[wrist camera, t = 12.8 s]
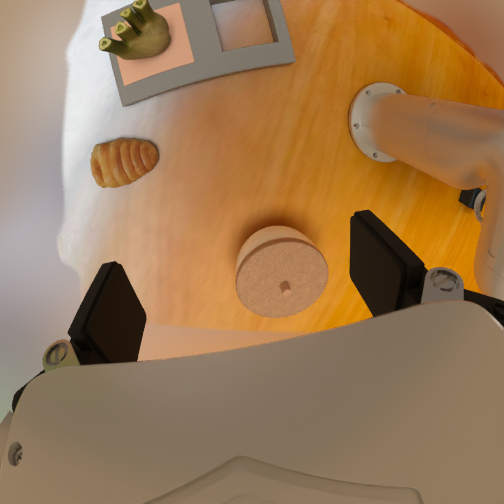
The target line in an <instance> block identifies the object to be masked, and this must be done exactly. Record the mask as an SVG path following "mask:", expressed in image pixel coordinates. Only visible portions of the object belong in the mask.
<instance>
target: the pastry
mask: <svg viewBox="0 0 504 504" xmlns="http://www.w3.org/2000/svg"><path fill="white" fill-rule="evenodd" d="M91 156H92V157H91V170H92V175H93V177H94V178H95V181H96V183H97V184H98V185H99V186H101V187H102V188H106V187H111V188H117V187H120V186H123V185H127V184H130V183H132V182H134V181H136V180H137V179H138V178H140V177H142V176H143V175H145V174H146V173H148V172H149V171H151V170H152V169H153V167H154V166H155V165H156V163H157V162H158V160H159V157H158V152H157V150H156V148H155V147H154V146H153V145H152V144H151V143H150V142H149V141H144V140H137V139H123V138H118V139H116V140H115V141H110V142H108V143H103V144H97V145H95V147H94V148H93V152H92V155H91Z"/></svg>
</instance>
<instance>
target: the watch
mask: <svg viewBox="0 0 504 504" xmlns="http://www.w3.org/2000/svg"><path fill="white" fill-rule="evenodd" d="M486 191H487V189H483V190H481V189H480V188H474V189H470V190H462V192H461V195H460V198H459V200H458V201H460V202H461V203H463V204H464V205H466V206H467V207H469V208H472V209H474V213H475V217H476V219H477V220H478V222H480V223H481V226H482V222H483V218H482V217H481V213H480V212H481V211H482V208H483V205H484V203H485V200H486Z"/></svg>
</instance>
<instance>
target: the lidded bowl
mask: <svg viewBox="0 0 504 504" xmlns="http://www.w3.org/2000/svg"><path fill="white" fill-rule="evenodd" d="M327 281H328V266H327V263H326V261H325V258H324V257H323V255H322V254H321V252H320V251H319V250H318V249H317V248H316V246H315V245H314V244H313V242H312V241H311V240H310V239H309V238H308V237H306V236H305V235H304V234H303V233H301V232H299V231H298V230H296V229H293V228H290V227H286V226H270V227H266V228H263V229H260V230H259V231H257V232H255V233H254V234H252V235H251V236H250V237H249V238H248V239H247V240H246V241H245V243H244V244H243V246H242V247H241V249H240V251H239V254H238V257H237V261H236V291H237V294H238V297H239V299H240V301H241V302H242V304H243V305H244V306H245V307H246V308H247V309H248V310H250V311H252V312H253V313H255V314H258V315H260V316H264V317H270V318H280V317H287V316H291V315H294V314H297V313H299V312H301V311H303V310H305V309H306V308H308V307H310V306H311V305H312V304H313V303H314V302H315V301H316V300H317V299H318V298H319V297H320V295H321V294H322V293H323V291H324V289H325V287H326V284H327Z"/></svg>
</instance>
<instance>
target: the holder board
mask: <svg viewBox="0 0 504 504" xmlns="http://www.w3.org/2000/svg"><path fill="white" fill-rule="evenodd" d="M228 1H234V0H148V2H149V4H150V6H151V8H152V10H153V11H154V12H156V13H158V14H160V15H162V16H163V17H164V18H165V19H166V21H167V23H168V26H169V34H170V36H171V41H170V44H169V45H168V47H167V48H166V49H165V50H164V51H163V52H162V53H160V54H158V55H155V56H152V57H148V58H145V59H137V60H124V59H122V58H120V57H119V56H117V55H115V54H113V53H110V52H109V56H110V60H111V64H112V68H113V72H114V76H115V80H116V84H117V88H118V91H119V95H120V99H121V102H122V106H129V105H132V104H134V103H137V102H140V101H142V100H145V99H148V98H150V97H153V96H156V95H159V94H162V93H165V92H168V91H171V90H174V89H177V88H180V87H184V86H187V85H190V84H194V83H197V82H201V81H205V80H209V79H213V78H217V77H221V76H225V75H230V74H234V73H239V72H244V71H249V70H254V69H260V68H266V67H272V66H279V65H286V64H292V63H294V62H296V60H295V56H294V52H293V48H292V44H291V40H290V36H289V32H288V28H287V24H286V20H285V17H284V13H283V10H282V6H281V3H280V0H263V3H264V6H265V10H266V13H267V17H268V20H269V24H270V28H271V32H272V35H273V39H274V43H268V44H261V45H255V46H249V47H243V48H238V49H233V50H228V51H223V52H222V48H221V44H220V40H219V36H218V32H217V29H216V25H215V21H214V17H213V14H212V10H211V6H210V5H212V4H217V3H222V2H228ZM126 8H130V9H131V10H132V11H134V9H133V8H132V4H130V5H128V6H125V7H123V8H120V9H118V10H116V11H113V12H111V13H109V14H107V15H105V16H102V17H101V19H102V24H103V29H104V34H105V37H106V38H111V39H115V40H119V41H121V40H122V39H121V38H120V37H119V36H117V35H116V34H115V25H116V24H117V23H118V22H119V21H122V22H124V23H125V24H126V25H129V24H128V22H127V21H126V20H125V19H124V18H123V17H122V16H120V12H122V11H123V10H124V9H126ZM134 13H135V11H134ZM129 26H130V25H129ZM130 27H131V26H130Z"/></svg>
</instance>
